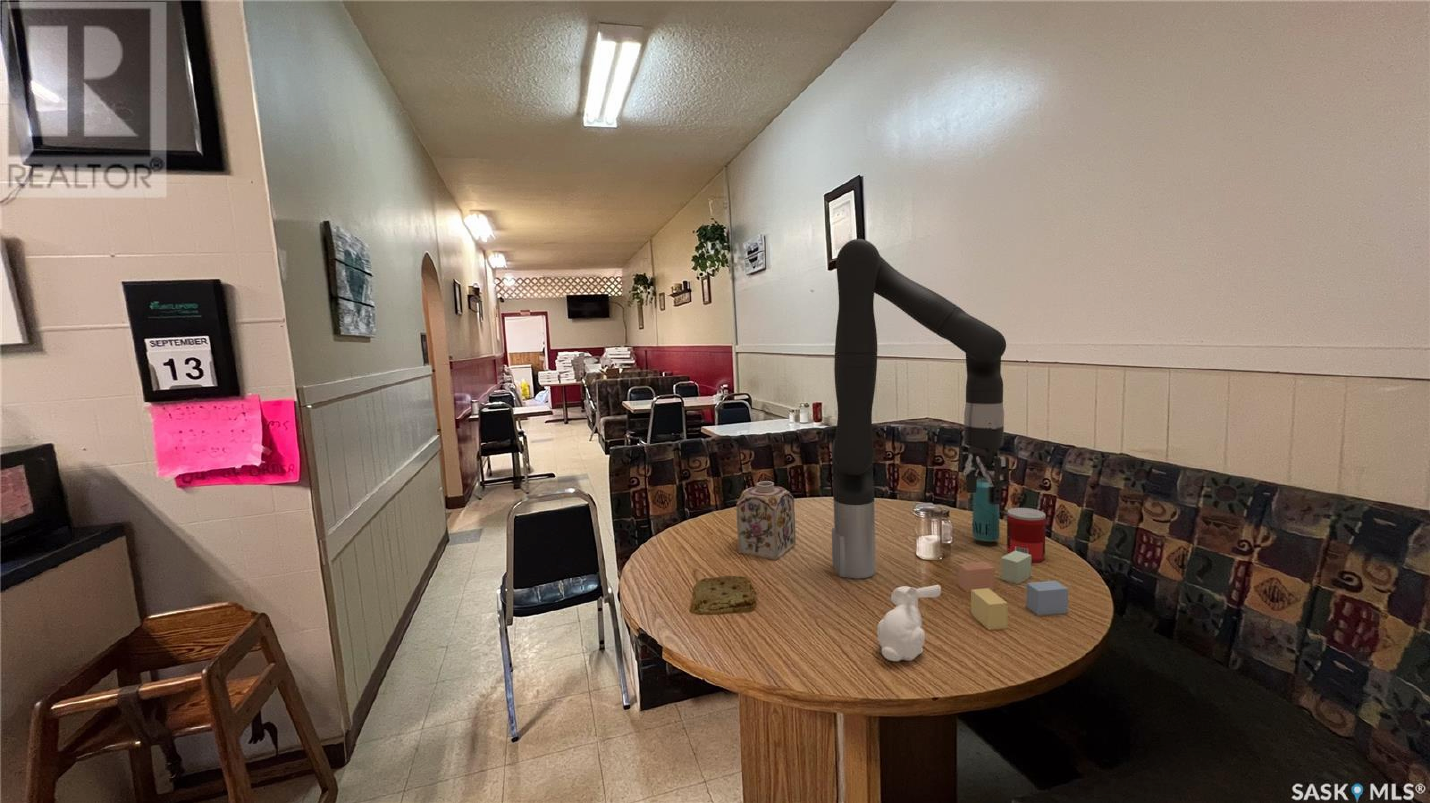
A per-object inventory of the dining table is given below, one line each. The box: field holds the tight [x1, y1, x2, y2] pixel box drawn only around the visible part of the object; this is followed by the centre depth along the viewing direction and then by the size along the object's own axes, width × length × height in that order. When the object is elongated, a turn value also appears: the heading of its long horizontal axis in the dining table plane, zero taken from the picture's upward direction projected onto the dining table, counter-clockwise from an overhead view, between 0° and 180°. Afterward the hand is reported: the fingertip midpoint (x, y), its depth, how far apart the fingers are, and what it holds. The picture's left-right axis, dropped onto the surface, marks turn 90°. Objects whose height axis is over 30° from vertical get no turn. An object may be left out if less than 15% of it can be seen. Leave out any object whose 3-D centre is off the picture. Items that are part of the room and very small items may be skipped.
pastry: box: [689, 575, 758, 616], centre depth 116 cm, size 17×17×3 cm
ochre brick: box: [970, 588, 1008, 631], centre depth 102 cm, size 6×4×5 cm, turn 4°
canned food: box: [1006, 507, 1047, 564], centre depth 129 cm, size 8×8×11 cm
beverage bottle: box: [971, 469, 1001, 542], centre depth 138 cm, size 6×7×20 cm
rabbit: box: [876, 584, 942, 662], centre depth 93 cm, size 12×9×12 cm
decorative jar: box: [735, 480, 797, 561], centre depth 141 cm, size 12×12×18 cm
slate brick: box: [1025, 580, 1069, 617], centre depth 105 cm, size 6×4×5 cm, turn 94°
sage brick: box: [1000, 551, 1032, 585], centre depth 119 cm, size 6×4×5 cm, turn 124°
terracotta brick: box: [957, 561, 995, 594], centre depth 115 cm, size 6×4×5 cm, turn 94°
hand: (982, 498), depth 115 cm, fingers open, 8 cm apart
